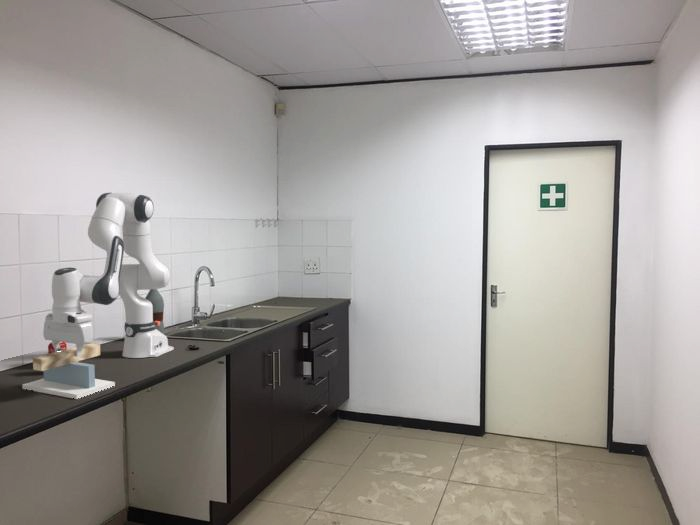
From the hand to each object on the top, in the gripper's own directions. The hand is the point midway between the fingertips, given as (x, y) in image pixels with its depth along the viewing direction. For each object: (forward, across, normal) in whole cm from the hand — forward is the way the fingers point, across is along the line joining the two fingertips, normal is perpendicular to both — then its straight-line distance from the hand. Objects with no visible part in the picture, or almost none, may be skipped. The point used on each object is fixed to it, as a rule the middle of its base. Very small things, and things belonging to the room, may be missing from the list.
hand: (68, 354), depth 202 cm
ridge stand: (+12, 0, 0) cm, 12 cm away
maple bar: (+3, 0, 0) cm, 3 cm away
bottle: (+12, -28, +72) cm, 78 cm away
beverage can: (+12, -20, +12) cm, 26 cm away
